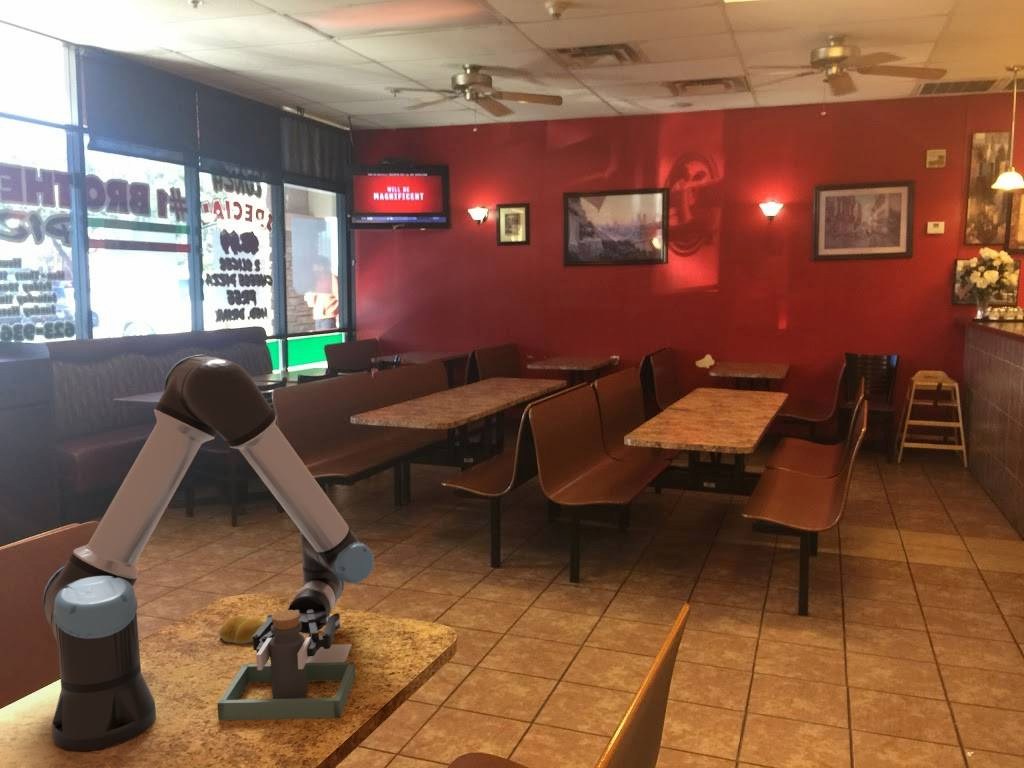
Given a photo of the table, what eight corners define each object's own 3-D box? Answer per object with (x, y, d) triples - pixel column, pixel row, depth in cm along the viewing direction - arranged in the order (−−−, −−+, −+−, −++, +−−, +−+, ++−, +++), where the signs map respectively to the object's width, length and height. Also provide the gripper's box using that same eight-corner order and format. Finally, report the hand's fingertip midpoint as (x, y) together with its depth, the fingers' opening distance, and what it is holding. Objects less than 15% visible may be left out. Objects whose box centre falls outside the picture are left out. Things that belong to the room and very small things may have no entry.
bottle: (298, 708, 140) (293, 622, 139) (266, 705, 142) (261, 620, 140) (313, 691, 146) (309, 609, 144) (282, 688, 147) (278, 607, 145)
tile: (266, 671, 154) (265, 669, 154) (280, 648, 164) (280, 645, 164) (341, 670, 154) (341, 667, 154) (351, 646, 164) (351, 644, 164)
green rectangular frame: (218, 720, 137) (217, 703, 136) (244, 679, 151) (243, 664, 150) (340, 717, 137) (339, 700, 137) (355, 677, 151) (354, 661, 151)
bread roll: (252, 647, 165) (251, 628, 164) (213, 642, 167) (212, 623, 167) (275, 630, 173) (274, 612, 172) (237, 626, 175) (236, 608, 175)
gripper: (361, 625, 161) (338, 682, 138) (263, 627, 161) (223, 684, 138) (360, 587, 160) (336, 639, 137) (261, 589, 160) (220, 641, 137)
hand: (279, 661), depth 138 cm, fingers open, 6 cm apart
